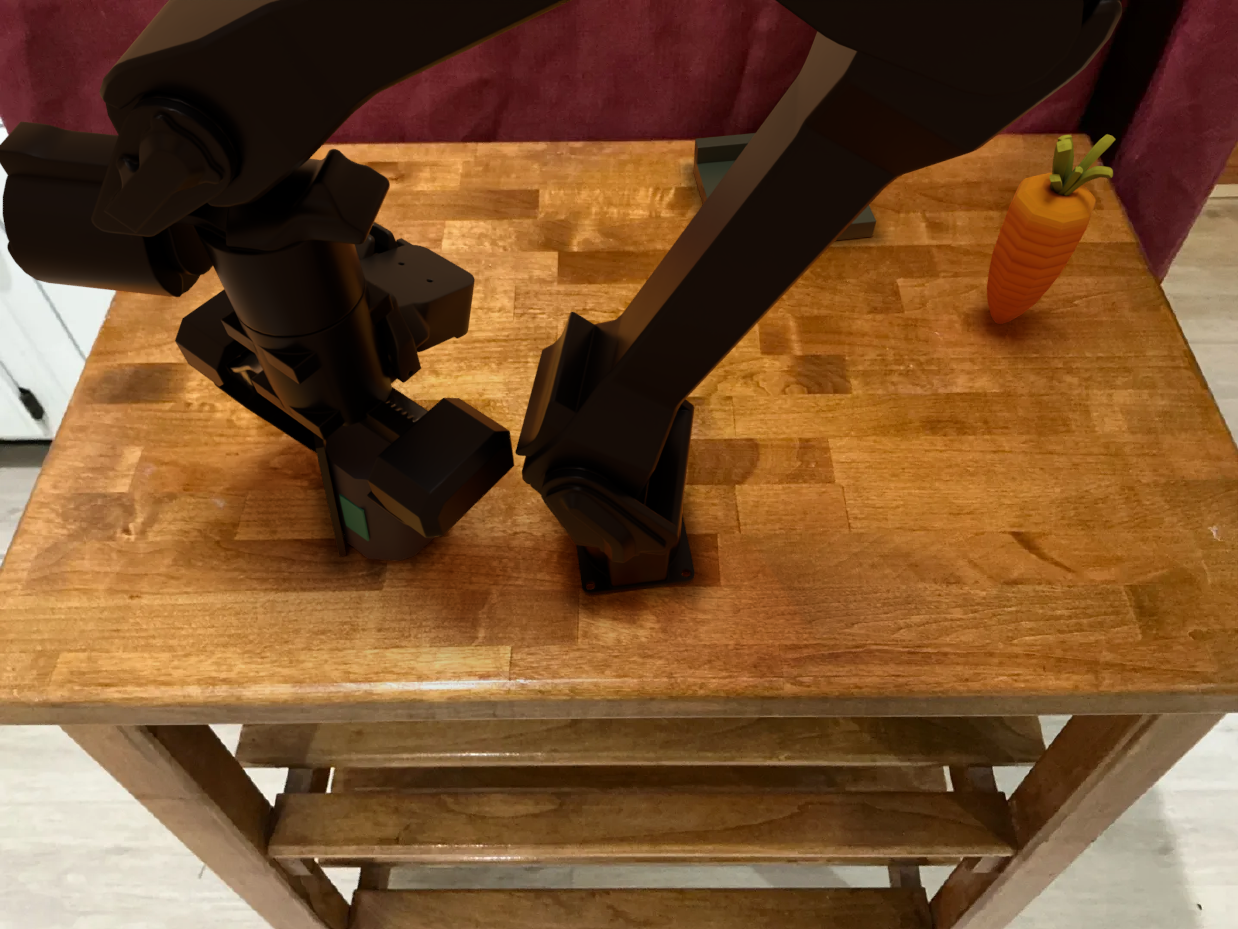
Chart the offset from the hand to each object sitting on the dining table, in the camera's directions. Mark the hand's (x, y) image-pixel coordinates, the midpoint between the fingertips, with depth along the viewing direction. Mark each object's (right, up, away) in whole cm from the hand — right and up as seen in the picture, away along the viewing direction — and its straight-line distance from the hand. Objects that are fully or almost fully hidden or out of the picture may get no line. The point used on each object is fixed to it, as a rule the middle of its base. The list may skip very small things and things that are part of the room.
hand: (375, 485), depth 53 cm
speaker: (+1, -2, +2) cm, 3 cm away
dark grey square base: (+27, +22, +19) cm, 39 cm away
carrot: (+41, +11, +11) cm, 44 cm away
